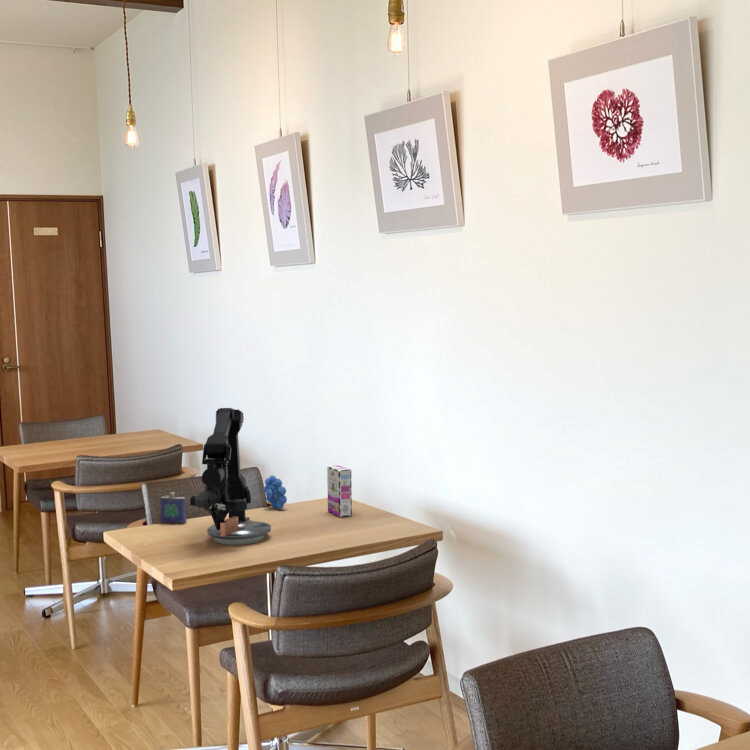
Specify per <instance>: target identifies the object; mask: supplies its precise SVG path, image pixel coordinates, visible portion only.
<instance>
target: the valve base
mask: <svg viewBox="0 0 750 750" xmlns="http://www.w3.org/2000/svg"><path fill="white" fill-rule="evenodd" d="M265 536H266V534H265V535H262V536H258V537H253V538H245V539H221V538H215V537H213V540H214V542H215V543H217V544H221V545H229V546H236V545H237V546H239V545H248V544H250V545H251V544H254V543H259V542H261V541H263V540H264V539H265V538H266V537H265Z"/></svg>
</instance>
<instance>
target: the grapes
mask: <svg viewBox="0 0 750 750" xmlns="http://www.w3.org/2000/svg"><path fill="white" fill-rule="evenodd" d="M264 484H265V486H264V487H263V492H264V493H265V495H266V498H265V499H266V501H267V502H268V503H270V505H271V507H272V508H273V509H275V508H276V509H279V510H282V509H284V508H285V505H286V503H287V501H288V499H287V496H286V493H287V489H286V487H284V485H283V481H282V480H281V479H280V478H277V477H276V476H275V475H270V476H269V477H267V478H266V479H265V480H264Z"/></svg>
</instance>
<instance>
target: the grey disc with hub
mask: <svg viewBox="0 0 750 750" xmlns="http://www.w3.org/2000/svg"><path fill="white" fill-rule="evenodd" d="M271 528H272V527H271V524H269V523H267V522H263V521H255V520H246V521H238V517H236V516H233V517H231V518H229V517H228V518H227V519H225V520H224V521H223V522H221V523H220V530H217V529H216V526H215V524H213V525H210V526H208V527H207V529H206V531H207V532H206V535H208V536H210V537H212V538H214V537H215V538H221V539H245V538H253V537H258V536H262V535H265V536H266V535H267V534H270V532H271V531H272V530H271Z"/></svg>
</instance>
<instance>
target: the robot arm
mask: <svg viewBox="0 0 750 750" xmlns="http://www.w3.org/2000/svg"><path fill="white" fill-rule="evenodd" d="M244 420H245V419H244V412H243V411H242V410H240V409H238V408H237V409H235V408H232V407H220V408H217V410H216V411H215V426H214V427H213V428H214V429H213V433H212V435H210V436H208V437H207V439H206V442H205V443H204V445H203V450H202V451H203V452H202V462H201V464H202V465H206V469H205V470H203V472H202V475H201V481H202V483H203V484H204V485H205V486H204V490H203V491H201V492H200V493H198V494H194V495H191V497H190V500H189V505H190V506H193V507H194V506H195V507H196V508H198V509H203V510H204V511H207V512H208V513H209V514H210V516H211V518H212V520H213V525H215V526H216V529H217V530H220V523H221V522H223V521H225V520H226V518H227V515H228V519H229V518H231V517H233V516H236V517H238V521H249V520H250V517H248V516H246V510H248V507H247V506H248V505H249V504H251V502H252V498H251V491H250V489H249V486H248V485H247V480H246V478H245V477H244V475H243V474H242V471H241V459H240V458H241V457H240V446H239V445H240V443H239V433H240V431H241V429H242V427H243V424H244Z"/></svg>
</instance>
